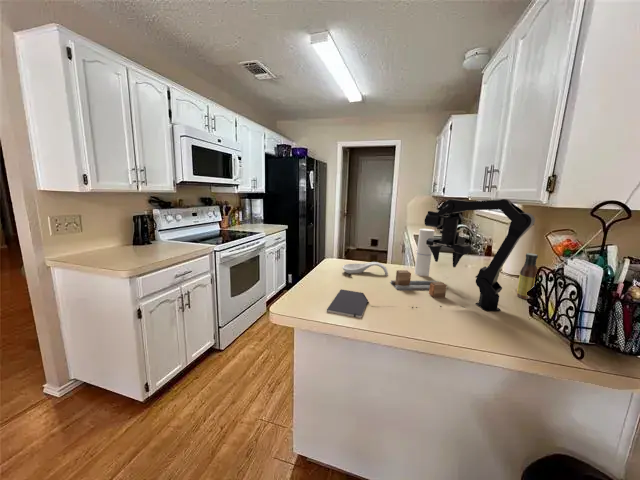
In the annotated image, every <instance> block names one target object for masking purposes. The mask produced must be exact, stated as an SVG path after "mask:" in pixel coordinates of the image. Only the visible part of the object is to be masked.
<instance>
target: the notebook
mask: <svg viewBox="0 0 640 480" xmlns="http://www.w3.org/2000/svg"><path fill="white" fill-rule="evenodd" d="M368 301H369V299H368V298H367V297H366V295H365V294H364V292H361V291H360V292H359V291H356V290H347V289H341V288H340V290H339V292H338V293H337V294H336V295H335V297H334V299H332V301H331V303H330V305H329V306H328V307H327V308H326V312H327V313H331V314H332V313H333V314H338V315H342V316H348V317H354V318H361V319H362V317H363V315H364V312H365V310H366V307H367V304H368Z"/></svg>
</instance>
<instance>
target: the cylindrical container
mask: <svg viewBox="0 0 640 480" xmlns="http://www.w3.org/2000/svg"><path fill="white" fill-rule="evenodd" d="M434 236H435V229H431V228H419V231H418V241H417V248H416V256H415V257H416V258H415V265H414V275H416V276H420V277H429V275H430V271H431V269H430V268H431V260H432V255H433V254H432V252H431V249H430V247H428V245H427V244H426V241H427V239H428V238H435V237H434Z"/></svg>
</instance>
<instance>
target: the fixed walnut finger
mask: <svg viewBox="0 0 640 480" xmlns="http://www.w3.org/2000/svg"><path fill="white" fill-rule="evenodd" d="M395 272H396V273H395V280H396V282H395V285H409V283H410V281H411V279H412V278H411V277H412V273H411V272H410V271H409V270H407V269H405V270H403V269H401V270H400V269H397V270H396V271H395Z"/></svg>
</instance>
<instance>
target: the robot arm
mask: <svg viewBox="0 0 640 480" xmlns="http://www.w3.org/2000/svg"><path fill="white" fill-rule="evenodd" d="M489 210H491V211H494V210H495V211H496V210H499V211H501V212H502V213H503V215H505V216H506V218H508V219H509V220H510V223H509V227H508V230H507V235H506V236H505V238H504V239H503V241H502V243H501V244H500V246H499V248H498V250H497V251H496V253H495V255H494V256H493V258H492V260H491V261H490V263H489V264H488V266H482V267H481V268H480V269H479V271H478V273H477V275H476V276H475V285H476V287H477V288H478V289H479V297H478V302H475V305H476V306H477V307H479V308H481V309H482V310H484V311H486V312H492V311H493V312H499V311H500V312H501V310H502V309H501V308H499V307H498V306H499V299H500V295H499V293H500V292H501V291H502V289H503V287H502V286H501V285H500V283H499V282H498V279H499V276H500V272H501V269H502V267H503V266H504V264H505V263H506V262H507V259H508V258H509V257H510V255H511V254H512V252H513V250H514V248H515V246H516V245H517V244H518V242H519V241H520V239H521V238H522V237H523V236H524V235H525V234H526V233H527V232H528V231H529V230H530V228H532V227H533V225H534V224H535V222H536V218H535V216H534V214H532V213H529V212H525V211H523V209H522V208H520V207H519V206H517V205H516V204H515V203H513V202H512V201H511V200H510V199H507V198H502V199H493V200H471V201H470V200H464V199H453V198H452V199H447V200H446V201H445V202H444V203H443V205H442V207H441V208H440V209H439V210H438V211H432V210H428V211H427V214H426V216H425V217H424V222H423V223H424V226H426V227H431V228H441V226H442V229H441V230H439V234H441V238H438V237H434V238H428V239H427V241H426V244H427V245H428V247H430V249H431V252H432V254H431V255H432V257H433V259H434V261H435V263H437V262H439V257H440V250H441V249H442V247H445V248H449V249H453V251H452V267H453V268H456V267H457V265H458V263H459V262H460V260H462V259H461V258H462V257H464V256H465V255H468V253H469V254H471V253H472V247H471V245H468V244H465V241H466V238H465V237H463V236H462V235H461V236H460V231H458V225H459V220H460V221H461V220H465V217H464V216H463V215H462V214H461V213H463V212H466V211H489ZM446 215H447V216H446Z"/></svg>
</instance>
